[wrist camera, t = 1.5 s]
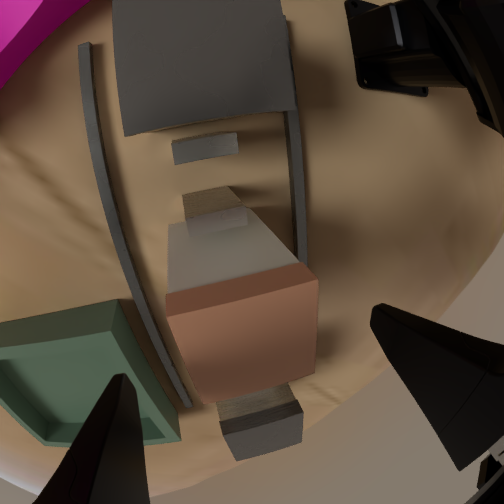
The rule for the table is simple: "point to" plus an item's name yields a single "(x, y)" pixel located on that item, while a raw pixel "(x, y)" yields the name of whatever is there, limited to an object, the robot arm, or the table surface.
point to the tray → (77, 373)
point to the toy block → (28, 28)
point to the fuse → (240, 309)
